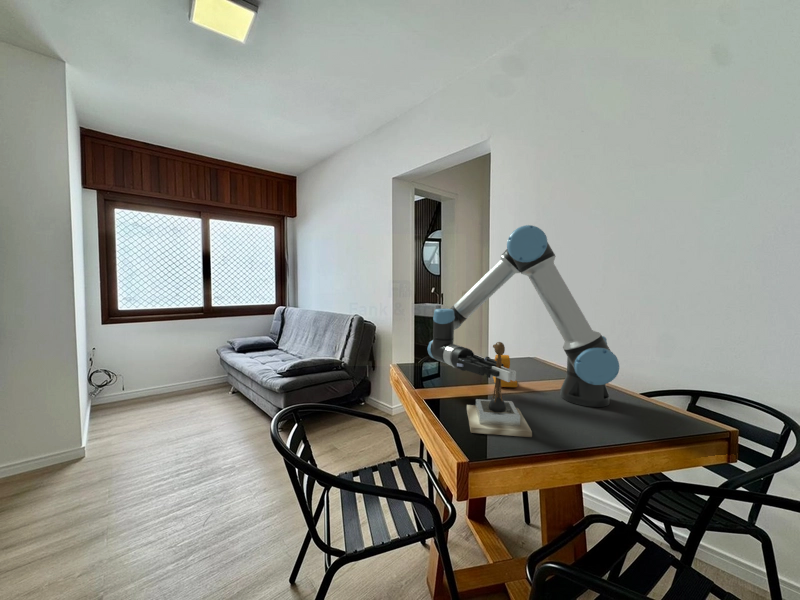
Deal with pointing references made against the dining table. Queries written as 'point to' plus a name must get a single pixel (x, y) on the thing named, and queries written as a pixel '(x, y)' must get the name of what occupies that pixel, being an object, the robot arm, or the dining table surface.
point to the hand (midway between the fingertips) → (512, 376)
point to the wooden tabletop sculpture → (498, 382)
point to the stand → (497, 429)
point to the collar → (497, 414)
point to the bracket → (507, 364)
